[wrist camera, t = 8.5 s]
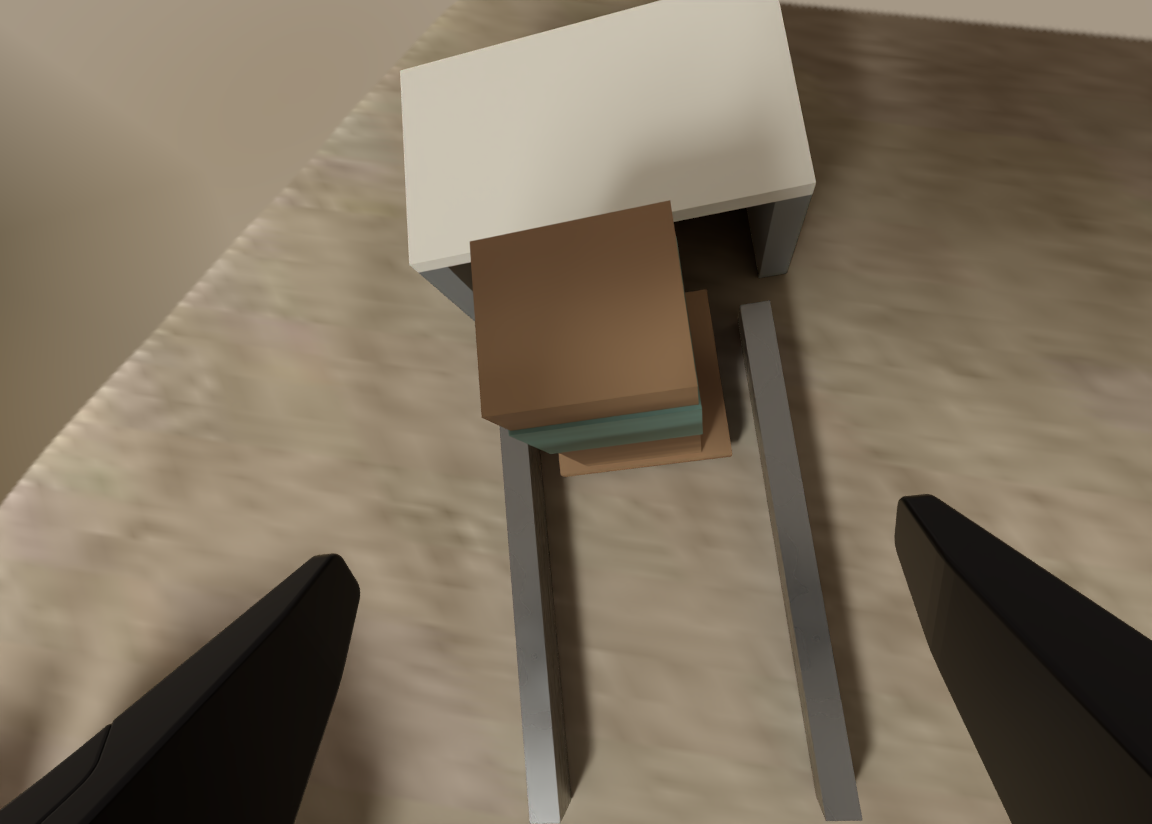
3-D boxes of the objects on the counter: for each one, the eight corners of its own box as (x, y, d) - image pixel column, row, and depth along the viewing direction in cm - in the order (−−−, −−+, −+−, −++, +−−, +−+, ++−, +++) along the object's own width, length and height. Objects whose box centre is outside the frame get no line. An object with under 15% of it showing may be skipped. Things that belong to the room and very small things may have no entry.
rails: (849, 795, 19) (862, 820, 17) (543, 800, 20) (530, 823, 19) (765, 315, 22) (769, 300, 20) (507, 358, 24) (493, 347, 22)
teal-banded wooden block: (731, 456, 21) (758, 389, 10) (565, 476, 22) (432, 435, 11) (700, 258, 22) (696, 19, 12) (546, 287, 23) (414, 92, 13)
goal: (786, 273, 22) (815, 182, 16) (481, 327, 24) (409, 264, 18) (756, 108, 23) (772, -31, 17) (470, 173, 26) (400, 70, 20)
